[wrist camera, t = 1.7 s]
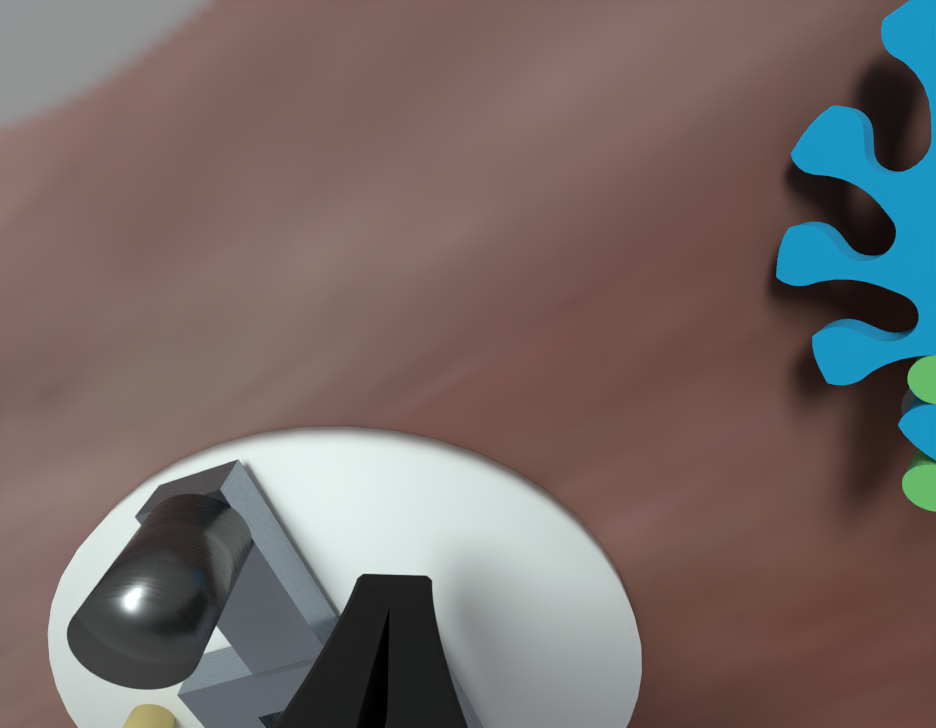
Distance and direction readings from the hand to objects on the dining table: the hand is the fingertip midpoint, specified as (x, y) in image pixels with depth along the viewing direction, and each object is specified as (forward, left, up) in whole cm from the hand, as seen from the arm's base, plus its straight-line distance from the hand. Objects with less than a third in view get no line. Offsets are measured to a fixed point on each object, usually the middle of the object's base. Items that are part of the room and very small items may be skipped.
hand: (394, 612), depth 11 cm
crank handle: (-4, +5, -4) cm, 7 cm away
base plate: (-7, +5, -5) cm, 9 cm away
